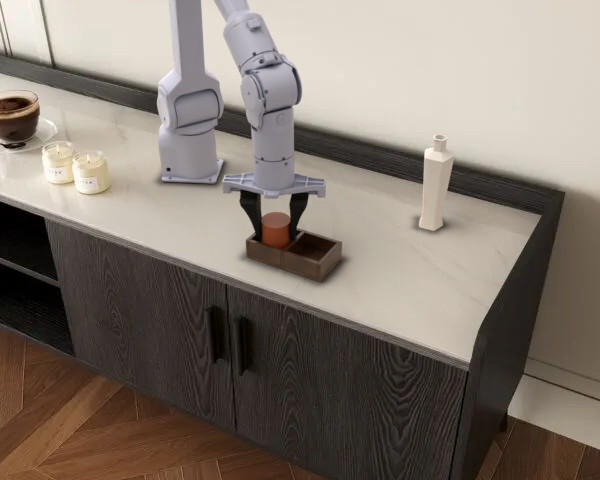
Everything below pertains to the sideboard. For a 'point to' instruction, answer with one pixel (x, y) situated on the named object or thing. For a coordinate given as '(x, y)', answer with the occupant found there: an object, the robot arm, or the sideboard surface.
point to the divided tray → (299, 254)
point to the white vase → (435, 182)
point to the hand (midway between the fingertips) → (276, 234)
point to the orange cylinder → (276, 229)
